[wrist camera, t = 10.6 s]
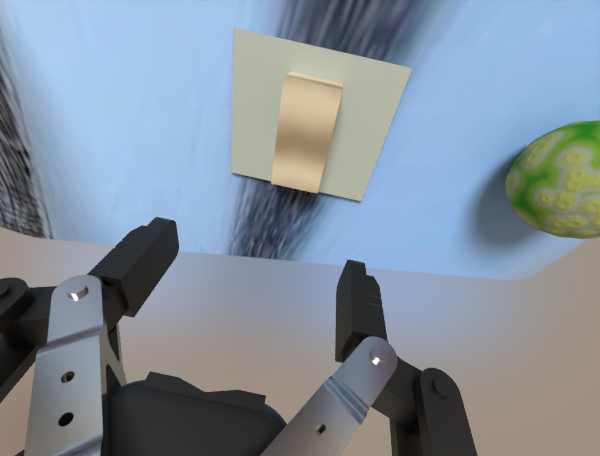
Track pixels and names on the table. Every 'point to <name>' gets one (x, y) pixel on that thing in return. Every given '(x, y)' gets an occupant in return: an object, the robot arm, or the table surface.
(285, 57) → the mat
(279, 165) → the beige wooden block
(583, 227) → the decorative ball
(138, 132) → the table surface
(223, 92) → the table surface
